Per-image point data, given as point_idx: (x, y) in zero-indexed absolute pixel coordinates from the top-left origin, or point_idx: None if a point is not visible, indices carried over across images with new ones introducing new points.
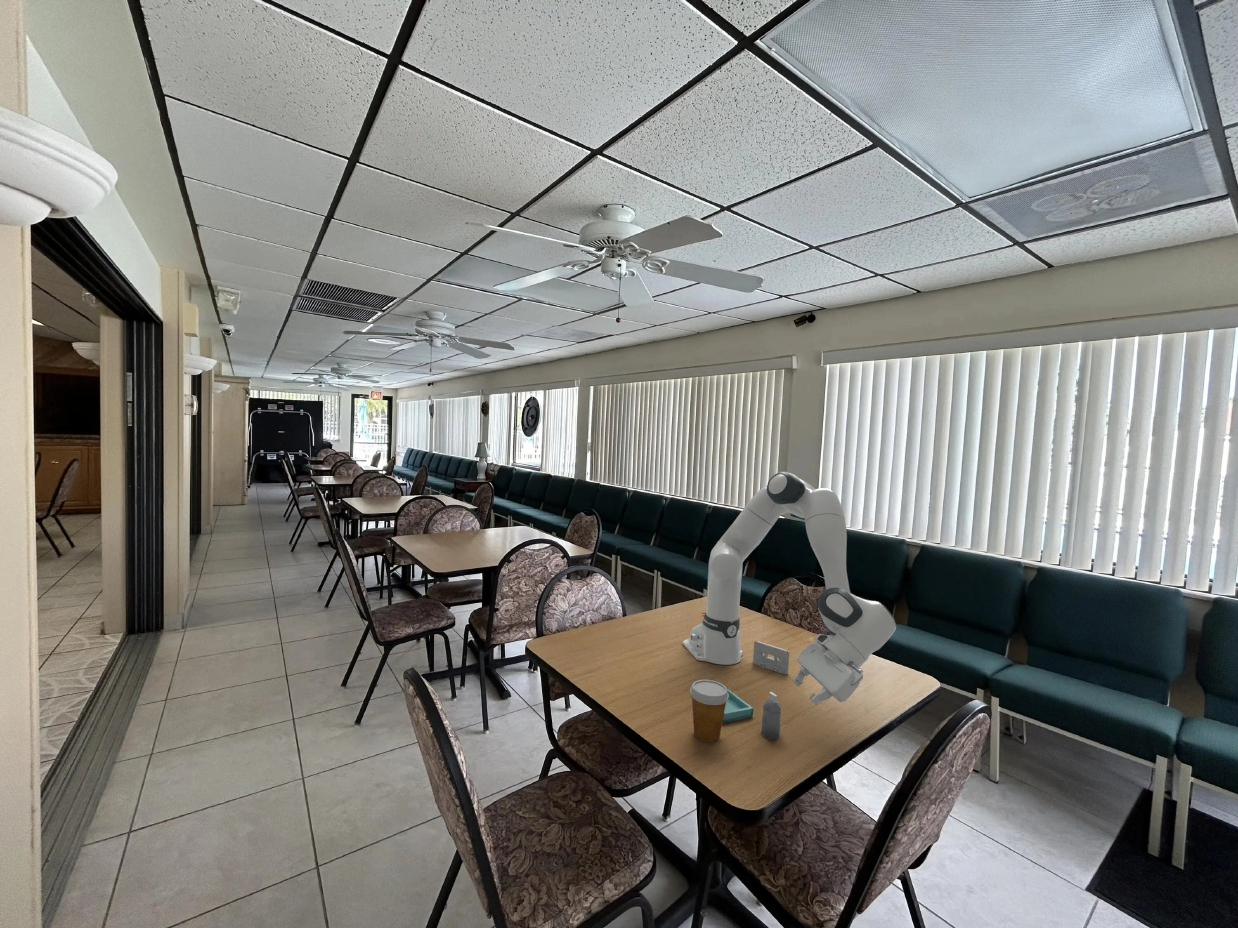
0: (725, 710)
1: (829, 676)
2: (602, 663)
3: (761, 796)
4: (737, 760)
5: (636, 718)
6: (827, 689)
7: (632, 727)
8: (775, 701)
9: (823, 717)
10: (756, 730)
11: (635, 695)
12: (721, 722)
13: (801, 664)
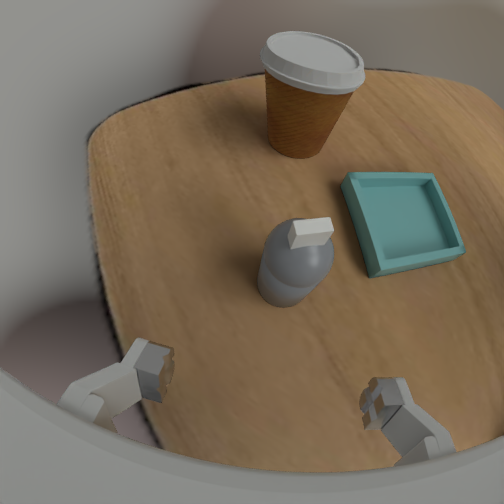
0: (386, 212)
1: (56, 493)
2: (482, 123)
3: (102, 153)
4: (197, 152)
5: None
6: (36, 392)
7: None
8: (290, 241)
9: None
10: None
11: (415, 109)
12: (276, 121)
13: (462, 450)
